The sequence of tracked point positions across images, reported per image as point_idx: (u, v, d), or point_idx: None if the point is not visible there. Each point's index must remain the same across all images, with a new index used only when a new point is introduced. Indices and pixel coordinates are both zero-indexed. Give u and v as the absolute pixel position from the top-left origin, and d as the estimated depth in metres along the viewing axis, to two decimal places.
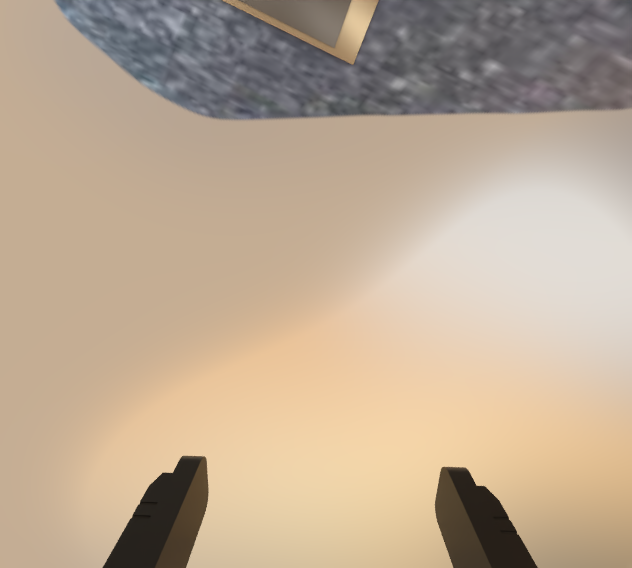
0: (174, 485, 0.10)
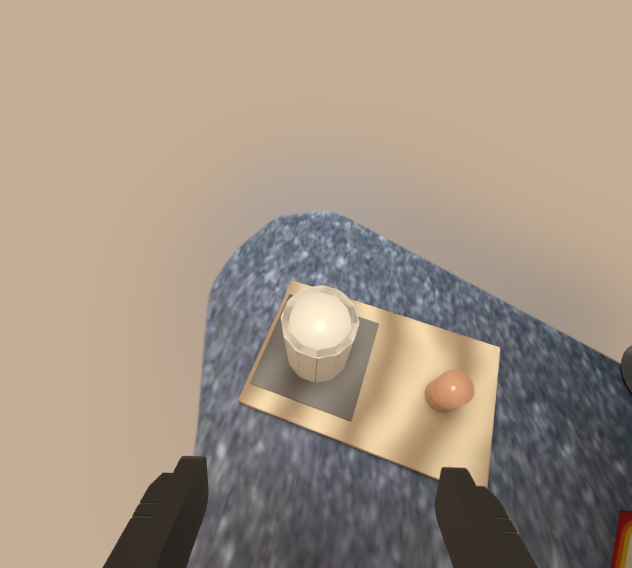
0: (174, 485, 0.10)
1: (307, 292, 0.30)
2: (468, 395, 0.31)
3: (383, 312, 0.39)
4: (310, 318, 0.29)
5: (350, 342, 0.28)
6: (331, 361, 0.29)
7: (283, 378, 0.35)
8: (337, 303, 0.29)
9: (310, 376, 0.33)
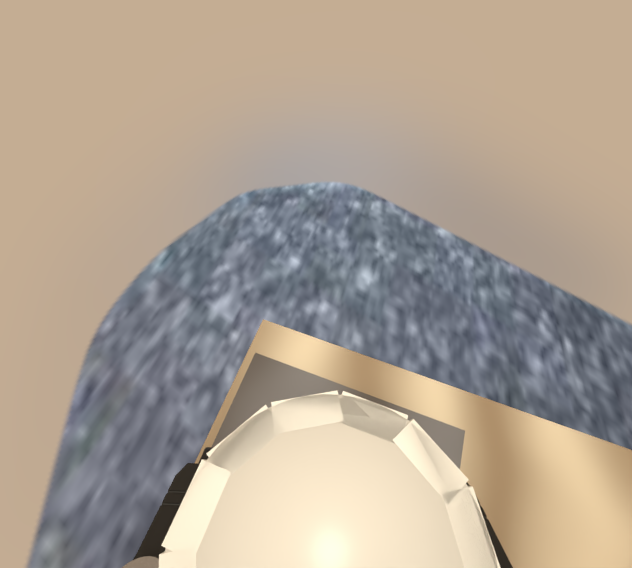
0: None
1: (282, 421, 0.08)
2: None
3: (468, 399, 0.17)
4: (289, 559, 0.07)
5: None
6: None
7: None
8: (401, 475, 0.07)
9: None
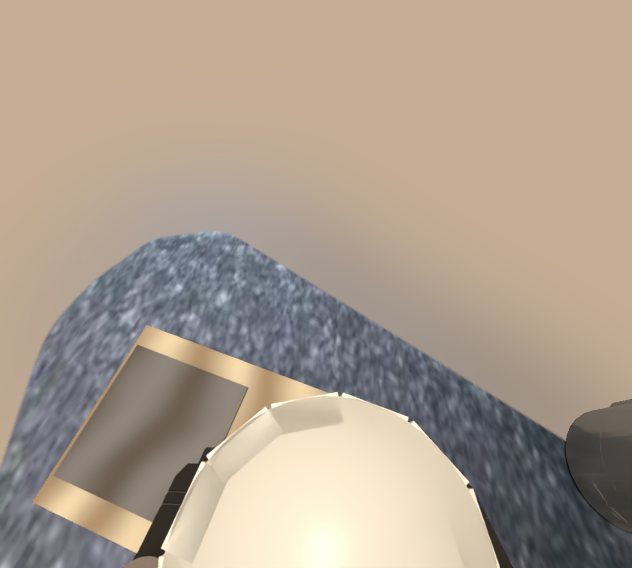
0: None
1: (281, 423, 0.08)
2: None
3: (257, 371, 0.30)
4: (289, 561, 0.07)
5: None
6: None
7: (101, 469, 0.26)
8: (401, 478, 0.07)
9: None
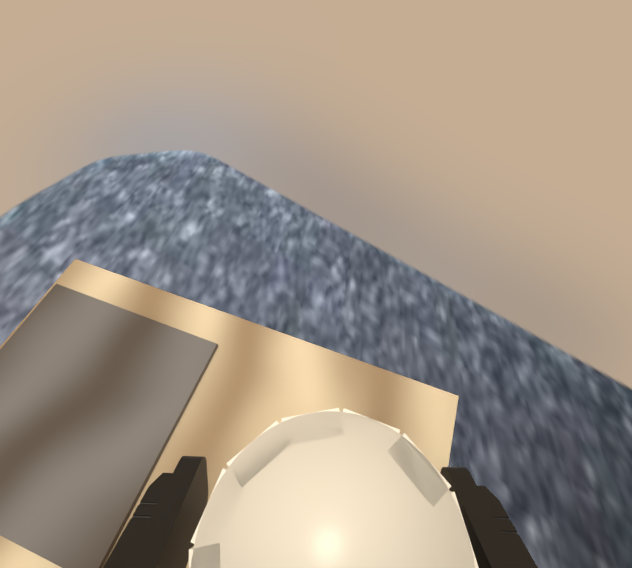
0: (174, 485, 0.10)
1: (290, 435, 0.09)
2: None
3: (233, 322, 0.20)
4: (298, 553, 0.08)
5: None
6: None
7: None
8: (393, 482, 0.08)
9: None
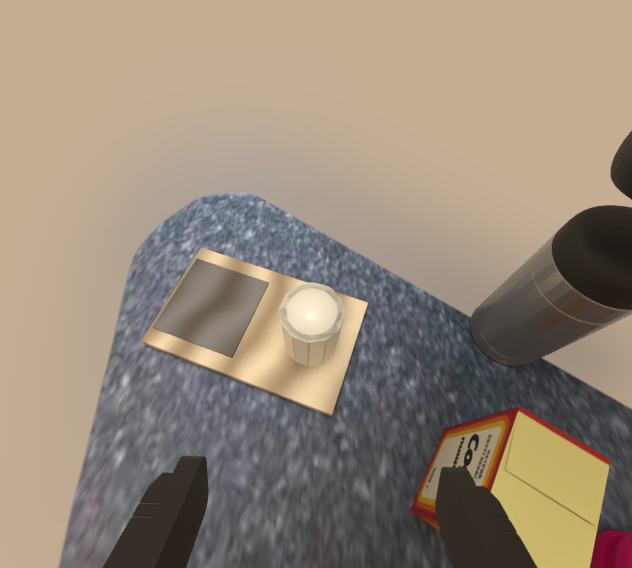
0: (174, 485, 0.10)
1: (301, 288, 0.36)
2: None
3: (274, 274, 0.47)
4: (303, 309, 0.34)
5: (336, 329, 0.33)
6: (321, 345, 0.34)
7: (181, 324, 0.42)
8: (326, 297, 0.35)
9: (304, 360, 0.39)
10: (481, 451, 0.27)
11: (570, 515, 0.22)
